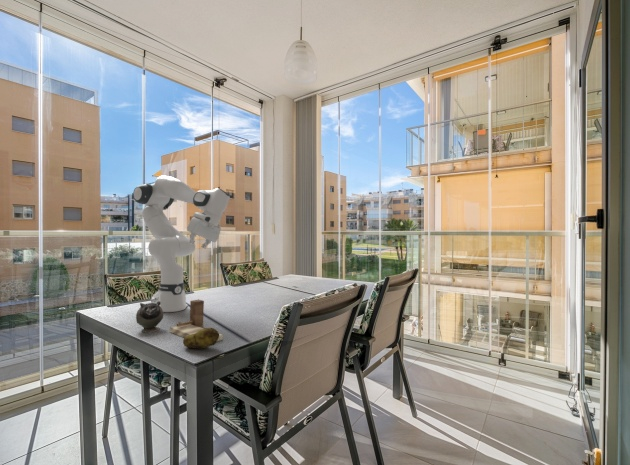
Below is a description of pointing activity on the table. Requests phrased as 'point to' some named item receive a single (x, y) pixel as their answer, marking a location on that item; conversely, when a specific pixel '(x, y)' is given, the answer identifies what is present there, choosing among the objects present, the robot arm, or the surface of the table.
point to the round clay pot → (149, 316)
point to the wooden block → (195, 314)
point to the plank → (188, 330)
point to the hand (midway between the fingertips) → (197, 245)
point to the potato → (202, 338)
